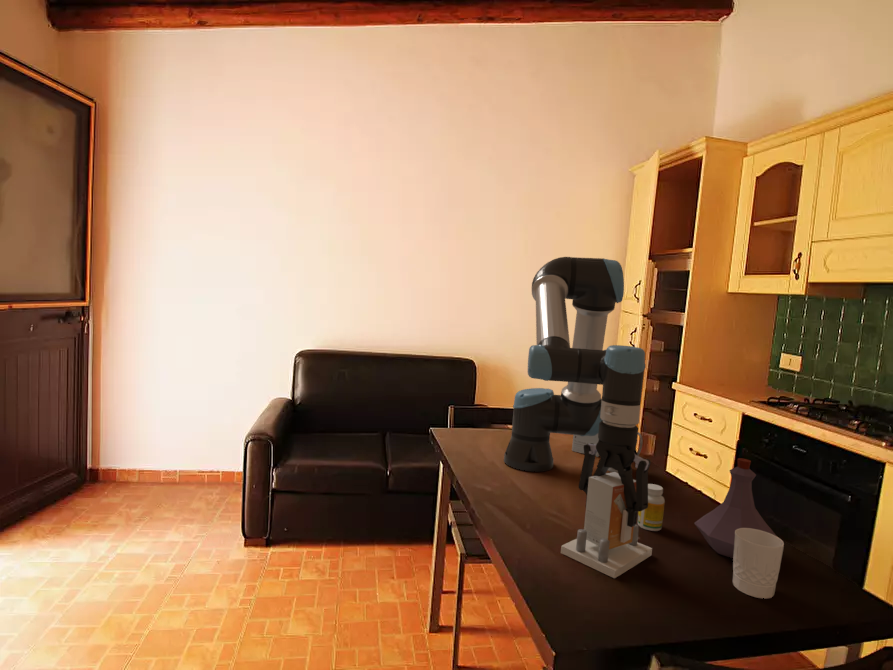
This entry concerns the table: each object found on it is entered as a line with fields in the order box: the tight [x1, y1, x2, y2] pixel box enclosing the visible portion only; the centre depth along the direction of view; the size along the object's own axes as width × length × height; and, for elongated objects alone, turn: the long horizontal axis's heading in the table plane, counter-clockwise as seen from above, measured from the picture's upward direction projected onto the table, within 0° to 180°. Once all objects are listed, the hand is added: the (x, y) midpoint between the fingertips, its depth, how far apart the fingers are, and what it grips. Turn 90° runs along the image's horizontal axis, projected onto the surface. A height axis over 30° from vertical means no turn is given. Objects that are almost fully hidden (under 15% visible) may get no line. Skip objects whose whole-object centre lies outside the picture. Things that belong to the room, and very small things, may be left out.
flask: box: [694, 457, 777, 559], centre depth 114 cm, size 16×16×20 cm
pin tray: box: [560, 523, 653, 579], centre depth 109 cm, size 12×15×6 cm
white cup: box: [732, 528, 785, 600], centre depth 99 cm, size 8×8×10 cm
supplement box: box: [571, 434, 600, 458], centre depth 183 cm, size 10×9×17 cm
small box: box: [583, 472, 636, 549], centre depth 109 cm, size 8×6×13 cm
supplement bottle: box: [637, 483, 666, 532], centre depth 124 cm, size 5×5×10 cm
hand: (608, 533), depth 109 cm, fingers closed on small box, 7 cm apart
